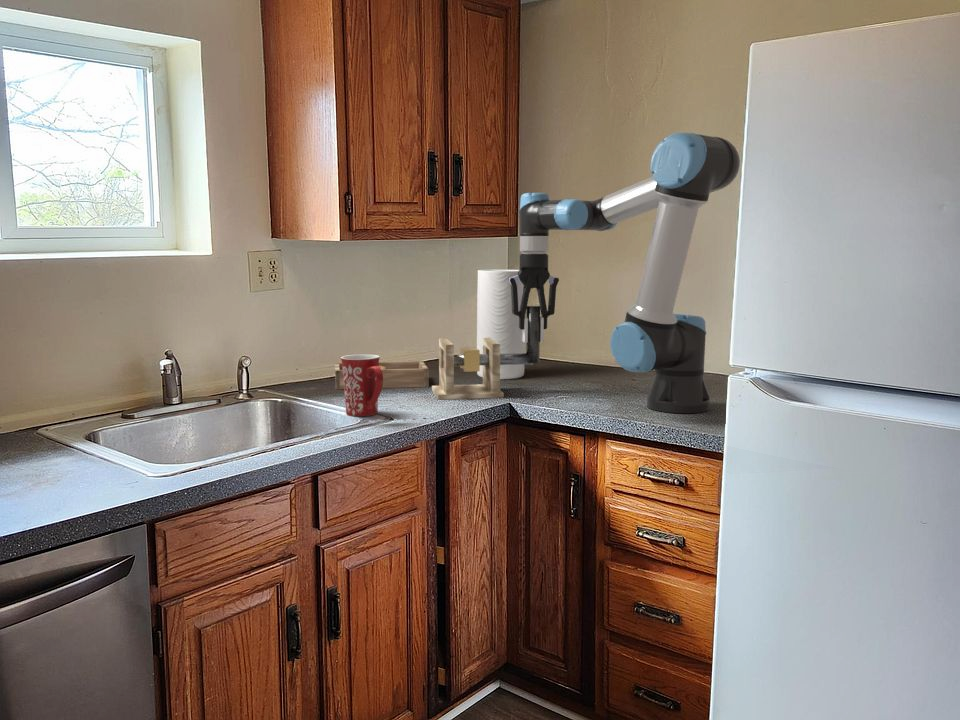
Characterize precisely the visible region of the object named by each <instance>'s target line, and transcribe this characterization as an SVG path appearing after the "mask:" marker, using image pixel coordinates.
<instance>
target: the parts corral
mask: <svg viewBox="0 0 960 720" xmlns="http://www.w3.org/2000/svg"><path fill="white" fill-rule="evenodd" d="M379 366H383V367H385V369H381V370H382V373H383V386H382V389H394V388H397V389H398V388H399V389H400V388H427V387H430V386H429V382H430V381H429V378H430V377H429V367H428V366H427V365H426V363H425V362H424V361H423V360H421V361H419V360H418V361H417V360H415V361H379ZM334 378H335V380H334V381H335V390H344V381H343V369H342V362H335V363H334Z"/></svg>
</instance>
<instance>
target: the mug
mask: <svg viewBox="0 0 960 720" xmlns="http://www.w3.org/2000/svg"><path fill="white" fill-rule="evenodd" d="M380 358H381V356H380V355H378V354H377V355H376V354H350V355H349V354H347V355H343V356H341V357H340V360H341V363H342V369H343V381H344V389H343V390H344V391H343V393H344V399H345V400H344V403H345V413H346V415H347V416H349V417H369V416H370V417H371V416H375V415H377V414H378V410H379V409H378V408H379V407H378V405H379V404H378V401H379V397H380V395H381V392H382V390H383V388H382V386H383V373H382V370H381V369H380V368H379V362H380Z"/></svg>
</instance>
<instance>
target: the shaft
mask: <svg viewBox="0 0 960 720" xmlns="http://www.w3.org/2000/svg"><path fill="white" fill-rule="evenodd" d="M525 317H527V318H528V342H526V343H525V353H511V354H500V365H524V364H525V365H534V364H539V363H540V351H541V349H540V347H541V346H540V345H541V342H540V317H541V310H540V305H527V309H526V314H525ZM480 365H489V354H480ZM443 366H444V355H443ZM460 366H464V356H463V355H460V354H454V367H460Z"/></svg>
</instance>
